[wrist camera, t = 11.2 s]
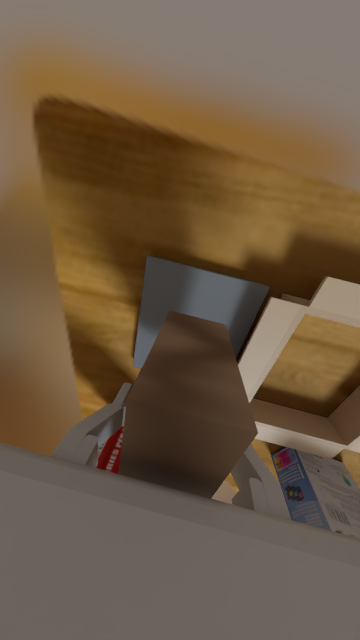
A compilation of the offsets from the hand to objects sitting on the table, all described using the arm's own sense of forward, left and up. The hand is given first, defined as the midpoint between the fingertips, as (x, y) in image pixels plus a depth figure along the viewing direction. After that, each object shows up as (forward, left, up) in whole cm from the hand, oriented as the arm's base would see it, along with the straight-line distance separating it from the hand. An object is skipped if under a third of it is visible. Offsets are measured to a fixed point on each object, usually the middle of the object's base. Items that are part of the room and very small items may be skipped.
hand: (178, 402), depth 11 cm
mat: (0, 0, -10) cm, 10 cm away
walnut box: (0, 0, -4) cm, 4 cm away
